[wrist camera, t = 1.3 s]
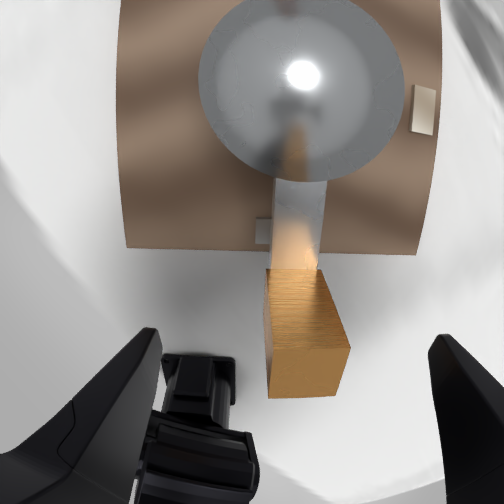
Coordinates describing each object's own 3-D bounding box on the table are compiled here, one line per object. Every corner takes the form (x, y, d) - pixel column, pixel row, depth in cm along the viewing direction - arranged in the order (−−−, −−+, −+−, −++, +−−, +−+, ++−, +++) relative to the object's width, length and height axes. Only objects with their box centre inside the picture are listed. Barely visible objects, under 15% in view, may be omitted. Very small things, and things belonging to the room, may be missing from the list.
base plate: (407, 246, 22) (435, 276, 18) (133, 238, 21) (110, 269, 17) (427, -12, 13) (461, -28, 9) (134, -36, 13) (110, -62, 9)
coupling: (352, 281, 17) (403, 388, 10) (209, 279, 17) (187, 395, 10) (378, 22, 11) (476, -24, 4) (211, 6, 11) (176, -79, 4)
